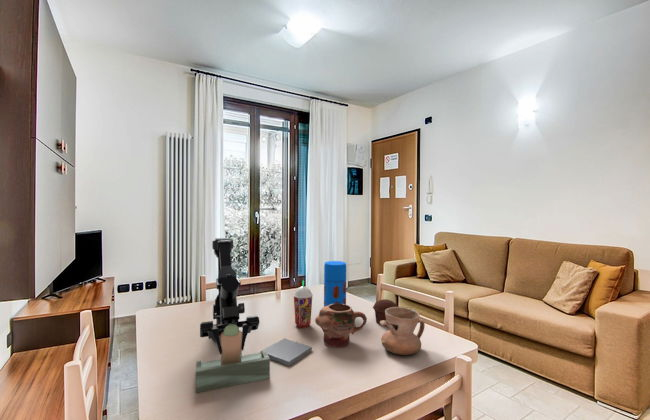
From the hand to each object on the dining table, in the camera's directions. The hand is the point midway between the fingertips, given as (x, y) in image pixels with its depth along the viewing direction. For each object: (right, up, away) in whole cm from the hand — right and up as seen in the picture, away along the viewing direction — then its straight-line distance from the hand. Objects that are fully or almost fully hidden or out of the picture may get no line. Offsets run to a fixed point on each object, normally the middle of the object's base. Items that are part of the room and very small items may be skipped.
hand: (231, 351), depth 100 cm
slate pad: (+16, -6, +13) cm, 22 cm away
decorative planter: (+36, -7, +23) cm, 43 cm away
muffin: (+57, -6, +44) cm, 72 cm away
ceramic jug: (+58, -7, +17) cm, 61 cm away
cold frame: (0, -7, 0) cm, 7 cm away
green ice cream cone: (-1, -5, +1) cm, 5 cm away
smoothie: (+20, -6, +39) cm, 44 cm away
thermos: (+34, -6, +54) cm, 64 cm away
